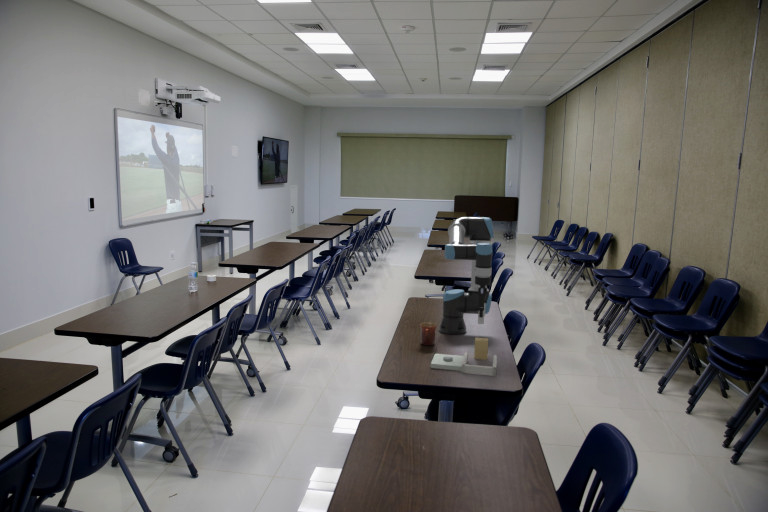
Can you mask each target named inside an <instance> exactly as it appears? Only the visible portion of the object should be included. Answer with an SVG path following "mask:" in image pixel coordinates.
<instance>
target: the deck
mask: <svg viewBox="0 0 768 512" xmlns="http://www.w3.org/2000/svg"><path fill="white" fill-rule="evenodd" d="M468 357H469V352H464V354H463V355H455V354H444V353H435V354H434V356H433V358H432V360H431V363H430V369H436V370H437V369H438V370H449V371H459V372H461V374H471V375H472V374H473V375H483V376H491V377H496V376H497V366H498V365H497V364H498V363H497V361H498V354H497V355H495V354H494V355H493V359H492V360H493V361H492V366H488V365H477V364H468V359H469V358H468Z"/></svg>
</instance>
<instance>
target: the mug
mask: <svg viewBox="0 0 768 512" xmlns="http://www.w3.org/2000/svg"><path fill="white" fill-rule="evenodd" d="M419 327H420V343H421V344H422V345H423V346H433V345H434V344H435V342H436V329H437V324H436V323H435V322H422V323H420V324H419Z"/></svg>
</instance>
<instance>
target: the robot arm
mask: <svg viewBox="0 0 768 512" xmlns="http://www.w3.org/2000/svg"><path fill="white" fill-rule="evenodd" d="M447 235H448V238H449V240H448V243H447V244H445V246H444V258H445V260H451V261H453V260H454V261H455V260H456V261H460V260H461V261H463V260H465V261H471V269H470V270H471V273H470V275H471V277H470V287H469V288H468V290H467V292H465V290H464V289H459V288H458V289H454V288H453V289H450V290H447V291H445V292H443V297H442V318H441V321H440V323H439V326H438V327H439V332H441V333H442V334H445V335H446V334H448V335H462V334H465V333H466V332H467V326H466V322H465V319H464V314H465V315H466V314H467V315H469V314H470V315H471V314H472V315H473V314H474V315H477V324H478V325H484V324H485V316H486V315H487V314H489V312H490V310H491V304H492V298H493V296H492V293H490V289H489V288H488V286H490V285H491V284H492V272H493V271H492V269H493V268H492V263H493V261H492V260H493V244H492V243H491V241H492V239H493V238H494V225H493V221H492V218H490V217H486V216H485V217H484V216H461V217H458V218H456V219H454V220H453V221H452V222H451V223H450V224H449V225H448V228H447ZM466 238H469V243H470V244H465V240H464V239H466Z"/></svg>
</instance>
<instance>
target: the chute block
mask: <svg viewBox="0 0 768 512" xmlns="http://www.w3.org/2000/svg"><path fill="white" fill-rule="evenodd" d="M474 338H475V339H474V357H473V358H474V359H476V360H487V361H488V356H489V355H488V354H489V353H488V352H489V338H485V337H474Z"/></svg>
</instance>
